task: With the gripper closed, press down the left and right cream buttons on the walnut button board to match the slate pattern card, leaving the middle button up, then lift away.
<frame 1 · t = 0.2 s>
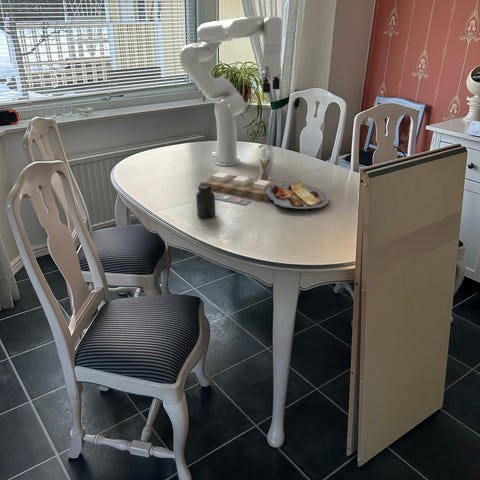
hand: (271, 90, 206), 36 cm above the table, tool pointing down, fingers open, 9 cm apart
middle button: (241, 181, 198), point 4 cm above the table, slide at 0.0 cm
right button: (262, 185, 193), point 4 cm above the table, slide at 0.0 cm
button board: (241, 189, 199), on the table
supplement bottle: (206, 216, 175), on the table
beer glass: (265, 179, 211), on the table
pattern card: (226, 198, 190), on the table
food plate: (295, 199, 187), point 1 cm above the table, touching button board
left button: (221, 178, 202), point 4 cm above the table, slide at 0.0 cm
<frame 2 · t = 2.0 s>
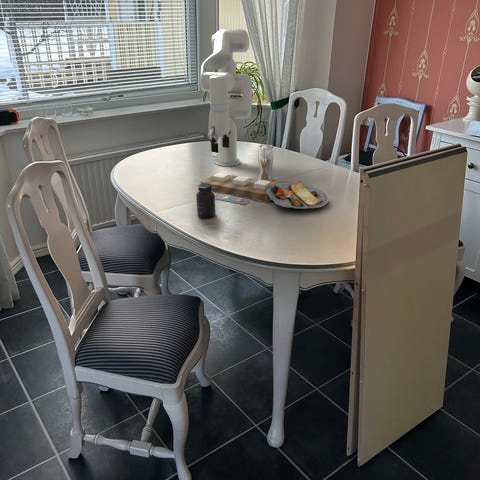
hand: (220, 149, 196), 16 cm above the table, tool pointing down, fingers open, 8 cm apart
nothing on the table moved.
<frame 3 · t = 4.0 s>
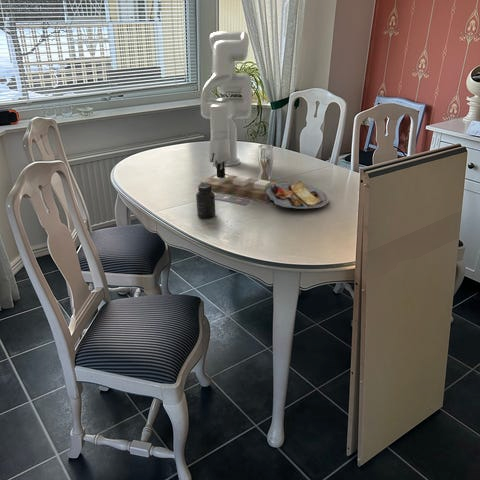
hand: (221, 176, 201), 4 cm above the table, tool pointing down, fingers closed
left button: (221, 180, 202), point 3 cm above the table, slide at 0.9 cm, touching gripper
everything else where it was.
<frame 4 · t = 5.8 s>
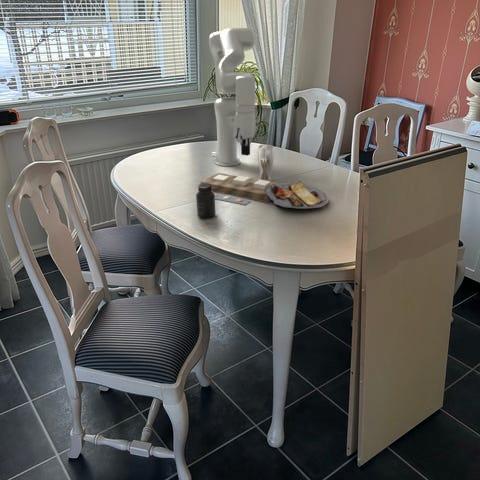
hand: (245, 154, 191), 16 cm above the table, tool pointing down, fingers closed
left button: (221, 180, 202), point 2 cm above the table, slide at 1.1 cm
everything else where it was.
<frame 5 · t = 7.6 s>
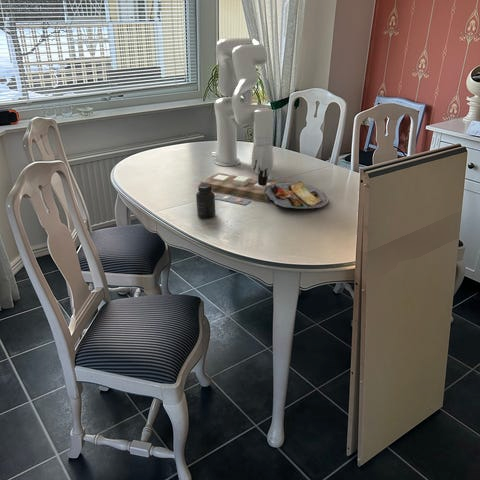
hand: (262, 184, 193), 4 cm above the table, tool pointing down, fingers closed
right button: (262, 187, 193), point 3 cm above the table, slide at 0.9 cm, touching gripper
everything else where it was.
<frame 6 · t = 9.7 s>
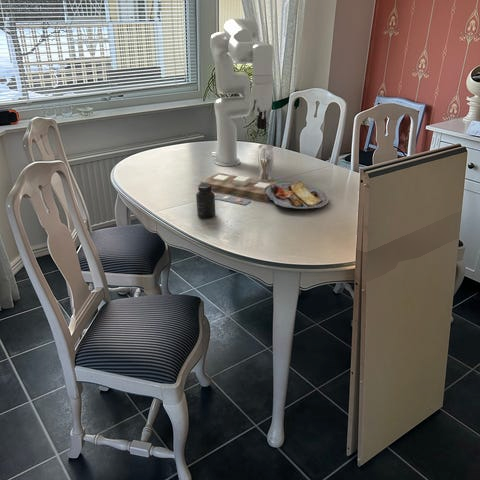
hand: (261, 128, 183), 27 cm above the table, tool pointing down, fingers closed
right button: (262, 188, 194), point 2 cm above the table, slide at 1.0 cm
everything else where it was.
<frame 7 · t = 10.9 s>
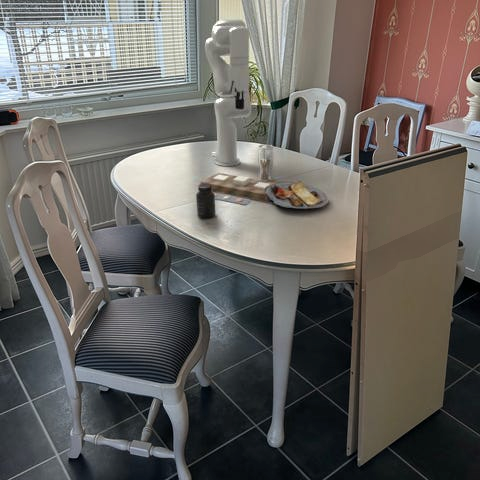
hand: (239, 108, 193), 32 cm above the table, tool pointing down, fingers closed
nothing on the table moved.
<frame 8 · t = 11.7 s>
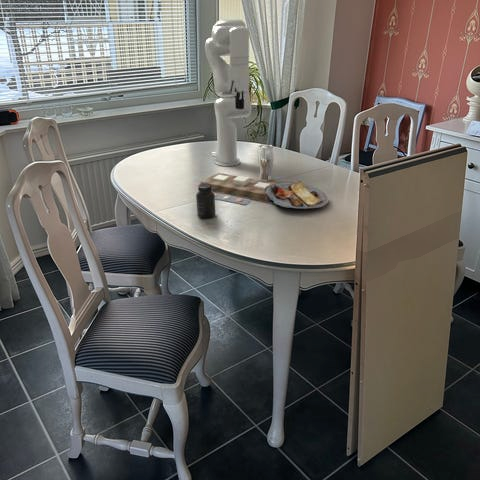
hand: (239, 108, 193), 32 cm above the table, tool pointing down, fingers closed
nothing on the table moved.
at the end: left button slide at 1.1 cm; right button slide at 1.0 cm; middle button slide at 0.0 cm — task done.
